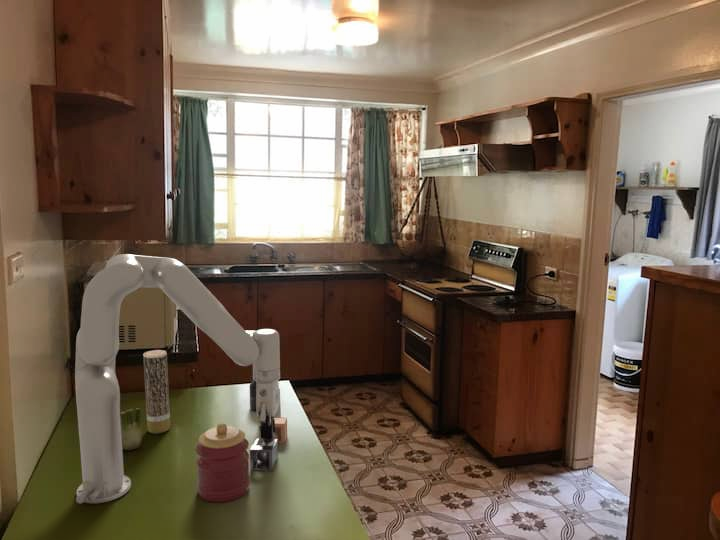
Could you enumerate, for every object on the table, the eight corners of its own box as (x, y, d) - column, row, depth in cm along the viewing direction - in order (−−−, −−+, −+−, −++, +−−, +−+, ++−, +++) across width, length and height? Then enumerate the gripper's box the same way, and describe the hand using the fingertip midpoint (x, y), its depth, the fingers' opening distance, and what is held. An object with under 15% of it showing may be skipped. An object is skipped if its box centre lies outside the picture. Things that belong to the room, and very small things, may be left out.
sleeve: (272, 470, 156) (272, 450, 155) (250, 470, 156) (249, 449, 155) (277, 456, 164) (277, 437, 163) (256, 456, 164) (256, 436, 163)
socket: (284, 442, 173) (284, 423, 172) (261, 442, 173) (261, 423, 172) (287, 436, 177) (286, 417, 176) (264, 435, 178) (264, 417, 177)
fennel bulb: (142, 443, 172) (140, 405, 170) (142, 451, 167) (139, 411, 165) (121, 446, 170) (119, 407, 168) (120, 454, 165) (118, 414, 164)
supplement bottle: (246, 410, 197) (245, 377, 195) (255, 403, 203) (254, 370, 201) (264, 413, 195) (263, 379, 193) (273, 405, 201) (272, 372, 200)
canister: (195, 481, 150) (192, 417, 148) (245, 473, 155) (243, 410, 152) (200, 507, 138) (197, 438, 136) (254, 497, 143) (252, 430, 140)
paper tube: (173, 425, 184) (170, 350, 181) (164, 435, 178) (160, 356, 174) (153, 424, 185) (149, 349, 181) (143, 434, 178) (139, 356, 175)
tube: (270, 462, 159) (269, 429, 158) (257, 462, 160) (256, 429, 158) (278, 442, 171) (277, 412, 170) (266, 442, 171) (265, 411, 170)
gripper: (274, 383, 154) (275, 448, 156) (284, 364, 170) (285, 423, 173) (246, 383, 154) (248, 448, 157) (259, 363, 170) (261, 423, 173)
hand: (267, 434), depth 165 cm, fingers closed on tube, 3 cm apart
